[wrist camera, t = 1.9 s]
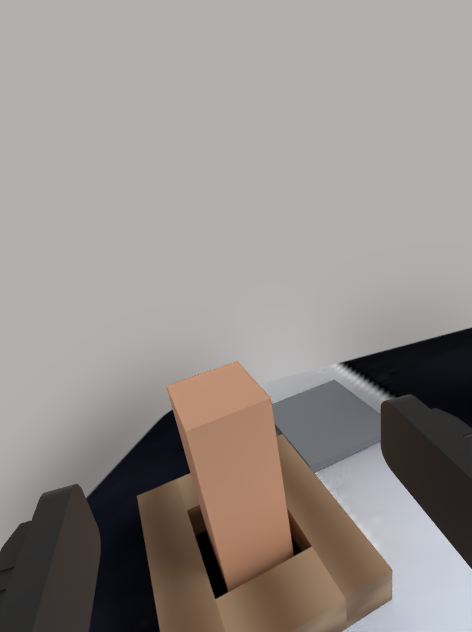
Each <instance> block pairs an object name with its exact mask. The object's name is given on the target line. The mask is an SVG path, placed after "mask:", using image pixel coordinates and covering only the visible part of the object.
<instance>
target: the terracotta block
mask: <svg viewBox="0 0 472 632" xmlns="http://www.w3.org/2000/svg"><path fill="white" fill-rule="evenodd" d="M167 390H168V393H169V397H170V400H171V404H172V408H173V411H174V415H175V419H176V422H177V426H178V429H179V433H180V436H181V440H182V444H183V447H184V451H185V454H186V458H187V462H188V465H189V469H190V472H191V476H192V479H193V483H194V487H195V490H196V494H197V497H198V501H199V505H200V508H201V512H202V515H203V519H204V522H205V526H206V530H207V533H208V537H209V540H210V543H211V546H212V549H213V552H214V555H215V557H216V560H217V563H218V566H219V569H220V571H221V574H222V577H223V580H224V583H225V585H226V588H227V591H228V592H230V591H232V590H234V589H235V588H237V587H239V586H241V585H243V584H244V583H246V582H248V581H250V580H252V579H254V578H255V577H257V576H259V575H261V574H263V573H265V572H266V571H268V570H270V569H272V568H274V567H276V566H277V565H279V564H281V563H283V562H285V561H287V560H288V559H290V558H292V557H294V554H293V547H292V540H291V533H290V526H289V519H288V513H287V506H286V499H285V492H284V485H283V478H282V472H281V465H280V458H279V451H278V444H277V437H276V431H275V424H274V417H273V410H272V403H271V398H270V397H269V396H268V395H267V393H266V392H265V391H264V390H263V389H262V388H261V387H260V386H259V385H258V383H257V382H256V381H255V380H254V379H253V378H252V377H251V376H250V374H248V372H247V371H246V370H245V369H244V368H243V367H242V366H241V364H240V363H239V362H238V361H236V362H233V363H230V364H227V365H224V366H222V367H219V368H216V369H213V370H210V371H207V372H204V373H202V374H198V375H196V376H193V377H190V378H187V379H184V380H181V381H178V382H175V383H173V384H170V385H167Z"/></svg>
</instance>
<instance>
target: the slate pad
mask: <svg viewBox="0 0 472 632" xmlns="http://www.w3.org/2000/svg"><path fill="white" fill-rule="evenodd" d="M272 410H273V417H274V424H275V430H276V431H277V433H278V434H279V435H281V434H283V436H284V437H285V438H286V439H287V440H288V442H289V443H290V444H291V445H292V447H293V448H294V449H295V450H296V452H297V453H298V454H299V455H300V457H301V458H302V459H303V460H304V461H305V463H306V464H307V465H308V466H309V468H310V469H311V470H312V471H313V473H315V472H317V471H319V470H322V469H324V468H326V467H328V466H330V465H332V464H334V463H336V462H338V461H340V460H342V459H345V458H347V457H349V456H351V455H353V454H355V453H357V452H359V451H361V450H363V449H365V448H368V447H370V446H372V445H374V444H376V443H378V442H380V441H381V415H380V414H379V413H378V412H376V411H375V410H374V409H372V408H371V407H370V406H368V405H367V404H366V403H364V402H363V401H362V400H361V399H359V398H358V397H357V396H355V395H354V394H353V393H351V392H350V391H349V390H347V389H346V388H345V387H343V386H342V385H341V384H339V383H338V382H337V381H335V380H332V381H330V382H327V383H325V384H322V385H320V386H317V387H315V388H312V389H310V390H307V391H305V392H302V393H300V394H297V395H295V396H292V397H290V398H287V399H285V400H282V401H279V402H277V403H274V404H272Z"/></svg>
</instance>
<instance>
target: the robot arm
mask: <svg viewBox="0 0 472 632" xmlns="http://www.w3.org/2000/svg"><path fill="white" fill-rule="evenodd" d="M381 450H382V454H383V456H384V459H385V461H386V463H387V465H388V466H389V468H390V469H391V471H392V472H393V473H394V474H395V476H396V477H397V478H398V479H399V480H400V482H401V483H402V484H403V485H404V487H405V488H406V489H407V490H408V491H409V493H410V494H411V495H412V496H413V498H414V499H415V500H416V501H417V502H418V504H419V505H420V506H421V507H422V509H423V510H424V511H425V512H426V514H427V515H428V516H429V517H430V518H431V520H432V521H433V522H434V523H435V525H436V526H437V527H438V528H439V529H440V531H441V532H442V533H443V534H444V536H445V537H446V538H447V539H448V540H449V542H450V543H451V544H452V545H453V547H454V548H455V549H456V550H457V552H458V553H459V554H460V555H461V556H462V558H463V559H464V560H465V561H466V563H467V564H468V565H469V566H470V567H471V569H472V428H470V427H469V426H468V425H467V424H465V423H464V422H463V421H461V420H460V419H459V418H457V417H455V416H453V415H451V414H448V413H446V412H444V411H442V410H439V409H437V408H434V409H430V408H428V407H427V406H426V405H425V404H424V403H422V402H421V401H420V400H419V399H417V398H416V397H415V396H413V395H405V396H402V397H398V398H394V399H391V400H387V401H384V402H383V403H382V404H381ZM100 553H101V541H100V533H99V529H98V526H97V523H96V521H95V519H94V516H93V514H92V512H91V510H90V507H89V505H88V503H87V500H86V498H85V496H84V493H83V491H82V489H81V487H80V486H79V485H78V484H75V485H71V486H67V487H64V488H60V489H57V490H53V491H49V492H46V493H43V494H42V496H41V497H40V499H39V502H38V505H37V507H36V510H35V513H34V515H33V518H32V521H28V522H25V523H21V524H20V525H19V526H18V528H17V529H16V530H15V531H14V533H13V534H12V535H11V537H10V538H9V539H8V541H7V542H6V543H5V544H4V546H3V547H2V549H1V551H0V632H89V627H90V621H91V614H92V607H93V601H94V594H95V587H96V581H97V574H98V567H99V561H100Z"/></svg>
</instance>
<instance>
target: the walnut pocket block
mask: <svg viewBox="0 0 472 632" xmlns="http://www.w3.org/2000/svg"><path fill="white" fill-rule="evenodd" d="M276 437H277V444H278V451H279V458H280V465H281V472H282V478H283V485H284V492H285V499H286V506H287V513H288V519H289V526H290V533H291V535H292V537H293V538H294V540H295V542H296V543H297V545H298V547H299V548H300V550H301V553H299V554H298V555H296V556H294V557H292V558H290V559H288V560H287V561H285V562H283V563H281V564H279V565H277V566H276V567H274V568H272V569H270V570H268V571H266V572H265V573H263V574H261V575H259V576H257V577H255V578H254V579H252V580H250V581H248V582H246V583H244V584H243V585H241V586H239V587H237V588H235V589H234V590H232V591H230V592H228V593H226V594H224V595H223V596H221V597H219V598H217V599H215V597H214V594H213V591H212V588H211V585H210V581H209V578H208V575H207V572H206V569H205V566H204V563H203V560H202V556H201V553H200V550H199V547H198V544H197V541H196V538H195V536H196V535H198V534H200V533H202V532H204V531H206V526H205V522H204V519H203V515H202V512H201V508H200V505H199V501H198V497H197V494H196V490H195V487H194V483H193V479H192V476H191V473H190V474H188V475H185V476H183V477H180V478H178V479H176V480H173V481H171V482H169V483H166V484H164V485H162V486H159V487H157V488H155V489H152V490H150V491H148V492H145V493H143V494H141V495H138V496H137V499H138V505H139V511H140V517H141V523H142V528H143V534H144V540H145V546H146V552H147V558H148V564H149V569H150V575H151V581H152V587H153V593H154V599H155V605H156V611H157V616H158V622H159V628H160V632H341V631H343V630H345V629H346V628H348V627H349V626H351V625H352V624H354V623H355V622H357V621H359V620H360V619H362V618H363V617H365V616H366V615H368V614H369V613H371V612H372V611H374V610H376V609H377V608H379V607H380V606H382V605H383V604H385V603H386V602H388V601H390V600H391V599H392V569H391V567H390V566H389V565H388V564H387V562H386V561H385V560H384V559H383V558H382V556H381V555H380V554H379V553H378V551H377V550H376V549H375V548H374V546H373V545H372V544H371V543H370V542H369V540H368V539H367V538H366V537H365V535H364V534H363V533H362V532H361V530H360V529H359V528H358V527H357V526H356V524H355V523H354V522H353V521H352V519H351V518H350V517H349V516H348V514H347V513H346V512H345V511H344V509H343V508H342V507H341V506H340V505H339V503H338V502H337V501H336V500H335V498H334V497H333V496H332V495H331V493H330V492H329V491H328V490H327V489H326V487H325V486H324V485H323V484H322V482H321V481H320V480H319V479H318V477H317V476H316V475H315V474H314V473H313V471H312V470H311V469H310V468H309V466H308V465H307V464H306V463H305V461H304V460H303V459H302V458H301V457H300V455H299V454H298V453H297V452H296V450H295V449H294V448H293V447H292V445H291V444H290V443H289V442H288V440H287V439H286V438H285V437H284V436H283V434H281V435H279V436H276Z"/></svg>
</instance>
